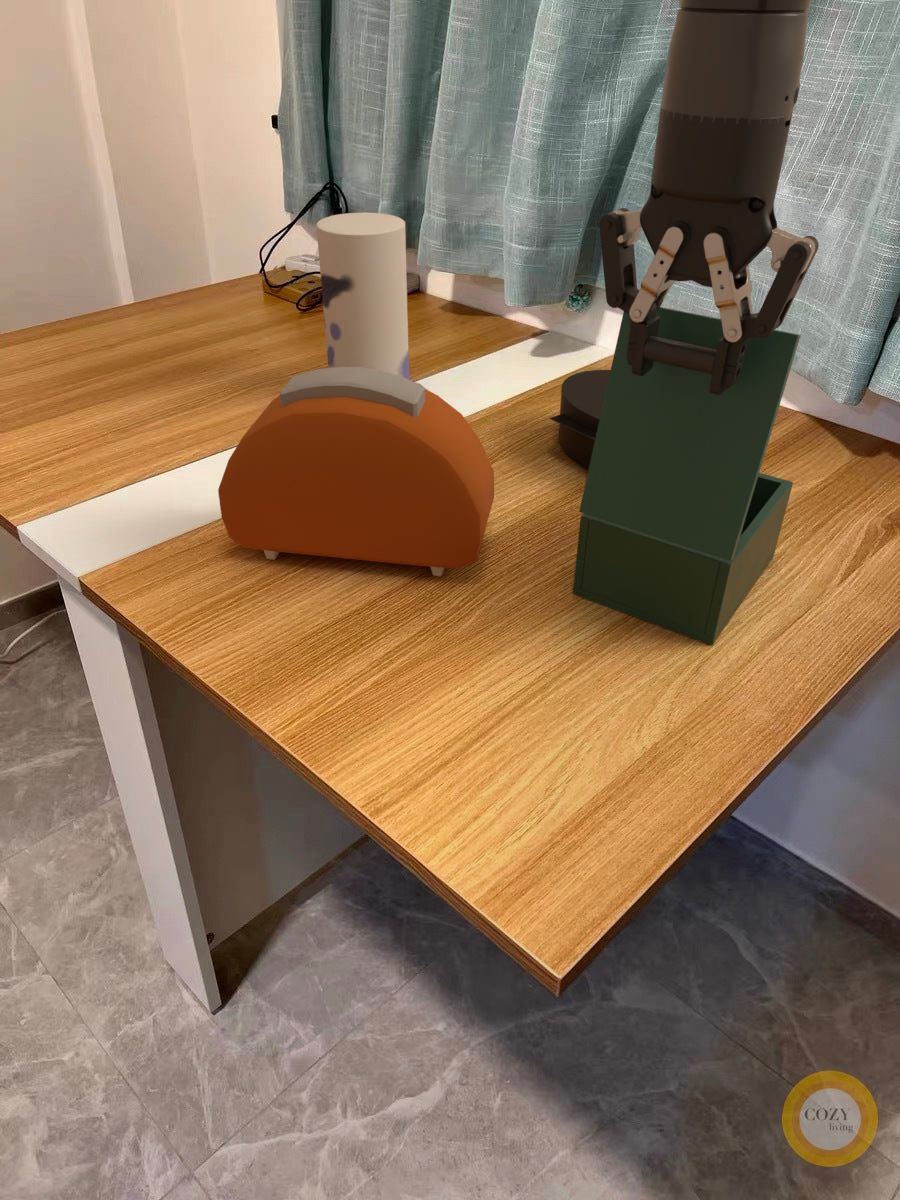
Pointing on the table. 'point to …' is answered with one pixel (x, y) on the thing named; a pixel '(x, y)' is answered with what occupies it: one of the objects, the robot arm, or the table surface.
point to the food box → (679, 568)
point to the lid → (685, 434)
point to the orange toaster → (360, 474)
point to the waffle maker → (581, 414)
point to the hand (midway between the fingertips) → (680, 380)
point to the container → (365, 291)
